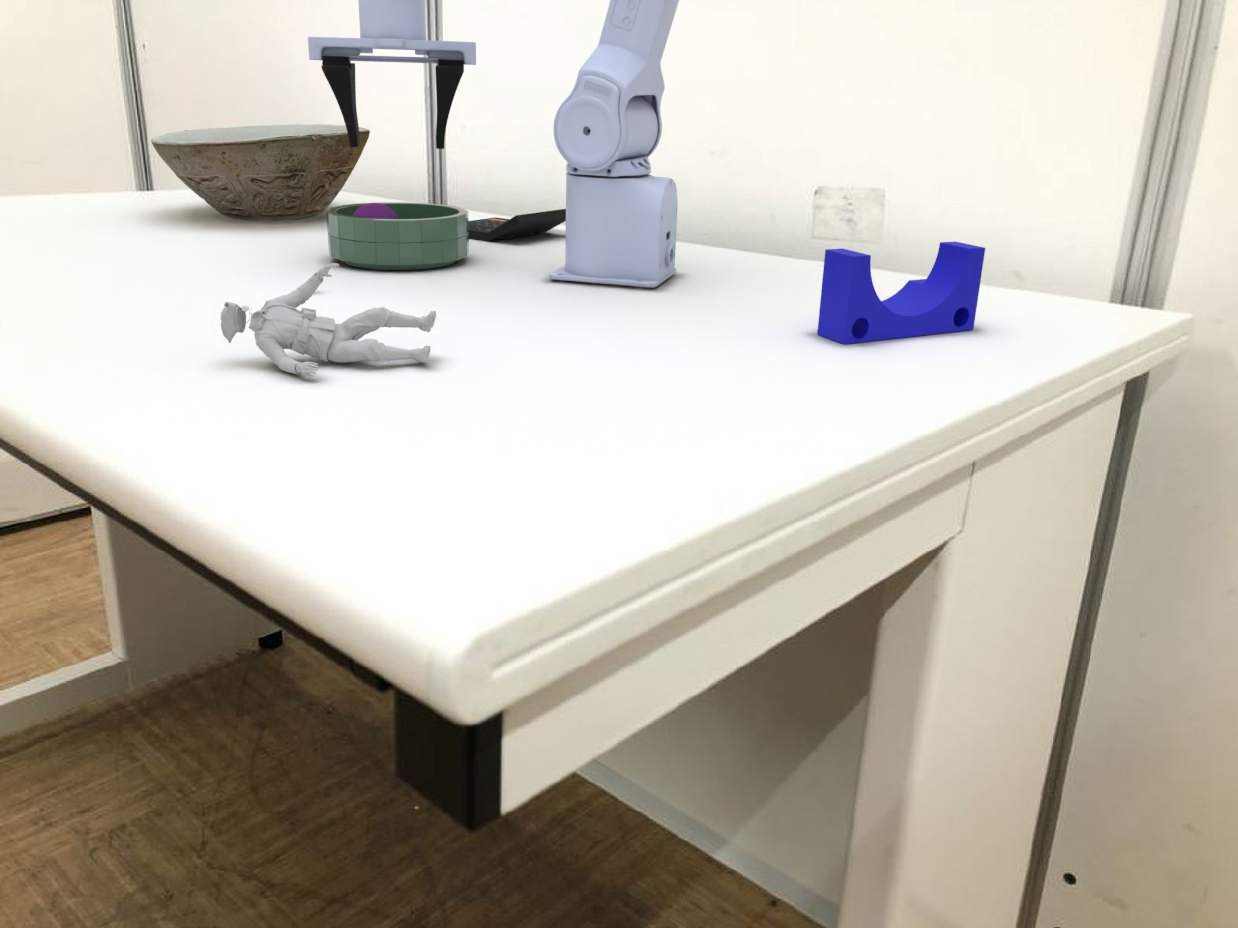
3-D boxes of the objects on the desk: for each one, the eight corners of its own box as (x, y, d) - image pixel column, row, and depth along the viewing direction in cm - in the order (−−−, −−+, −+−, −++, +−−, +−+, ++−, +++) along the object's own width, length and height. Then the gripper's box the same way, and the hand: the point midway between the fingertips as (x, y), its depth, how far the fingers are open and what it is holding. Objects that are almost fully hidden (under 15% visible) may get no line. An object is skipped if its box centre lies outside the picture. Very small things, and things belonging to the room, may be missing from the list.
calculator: (495, 225, 122) (495, 198, 121) (575, 236, 116) (576, 208, 115) (437, 233, 115) (436, 205, 114) (519, 245, 109) (519, 216, 108)
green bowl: (489, 254, 103) (488, 207, 102) (432, 277, 92) (430, 224, 90) (372, 245, 106) (369, 199, 105) (303, 265, 95) (299, 214, 93)
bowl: (115, 224, 115) (101, 127, 111) (226, 199, 137) (218, 118, 133) (322, 235, 111) (315, 135, 108) (402, 208, 133) (398, 124, 130)
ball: (415, 214, 99) (373, 184, 97) (403, 241, 96) (359, 209, 94) (390, 246, 101) (348, 216, 100) (377, 272, 98) (334, 242, 96)
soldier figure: (425, 396, 63) (212, 340, 58) (404, 429, 67) (203, 380, 62) (442, 287, 66) (242, 227, 62) (422, 325, 70) (233, 271, 66)
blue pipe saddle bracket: (930, 317, 82) (940, 238, 80) (973, 329, 79) (985, 247, 76) (804, 329, 77) (812, 246, 75) (844, 344, 73) (853, 256, 71)
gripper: (298, -22, 88) (310, 149, 93) (475, -15, 90) (478, 152, 95) (310, -16, 95) (320, 143, 100) (474, -9, 97) (477, 146, 102)
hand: (397, 147), depth 98 cm, fingers open, 7 cm apart
